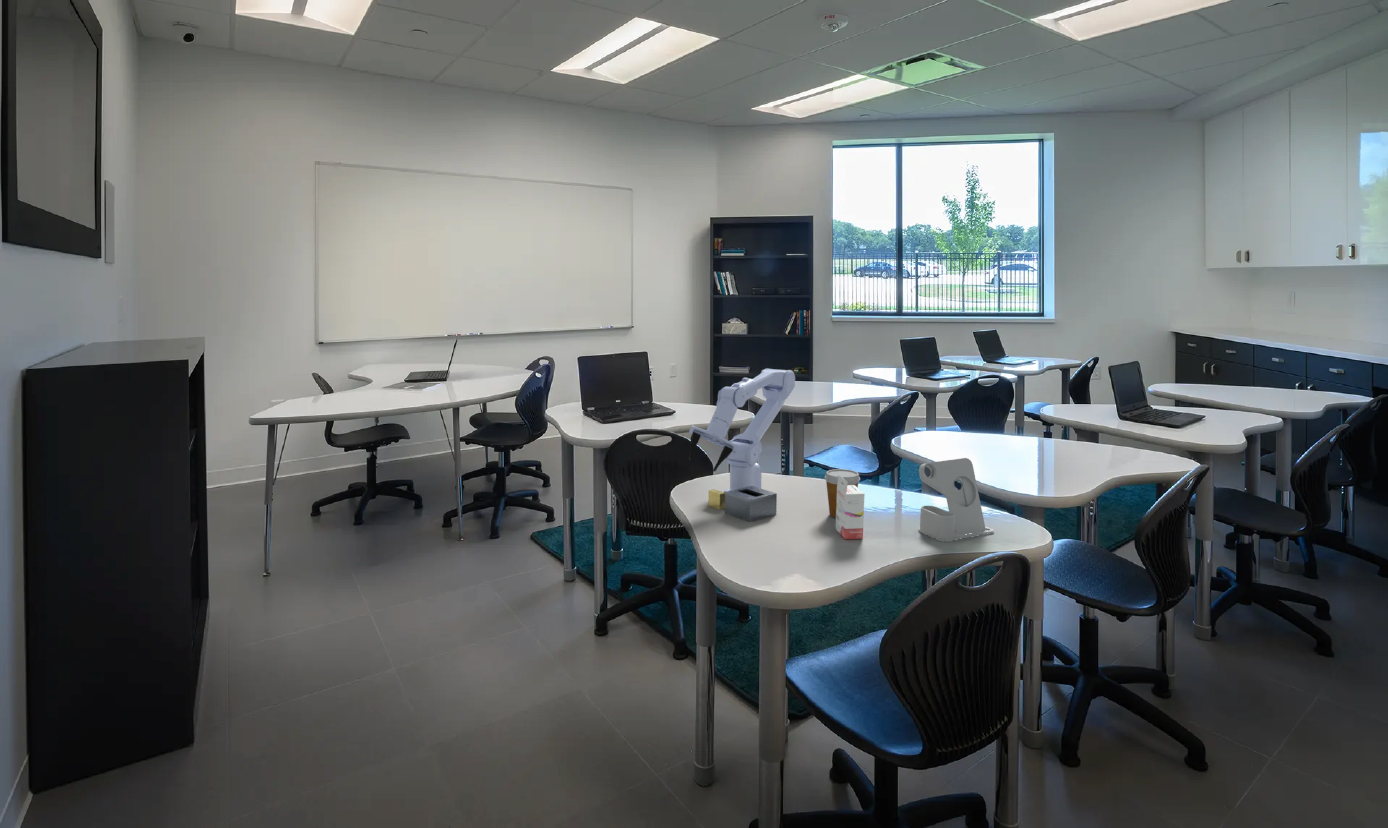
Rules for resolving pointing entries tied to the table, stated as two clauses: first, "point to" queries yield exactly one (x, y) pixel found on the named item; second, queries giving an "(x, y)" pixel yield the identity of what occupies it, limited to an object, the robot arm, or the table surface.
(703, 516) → the table surface
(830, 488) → the disposable coffee cup
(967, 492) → the grey mounting bracket
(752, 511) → the box
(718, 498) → the block
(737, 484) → the robot arm
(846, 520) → the ink cartridge box
